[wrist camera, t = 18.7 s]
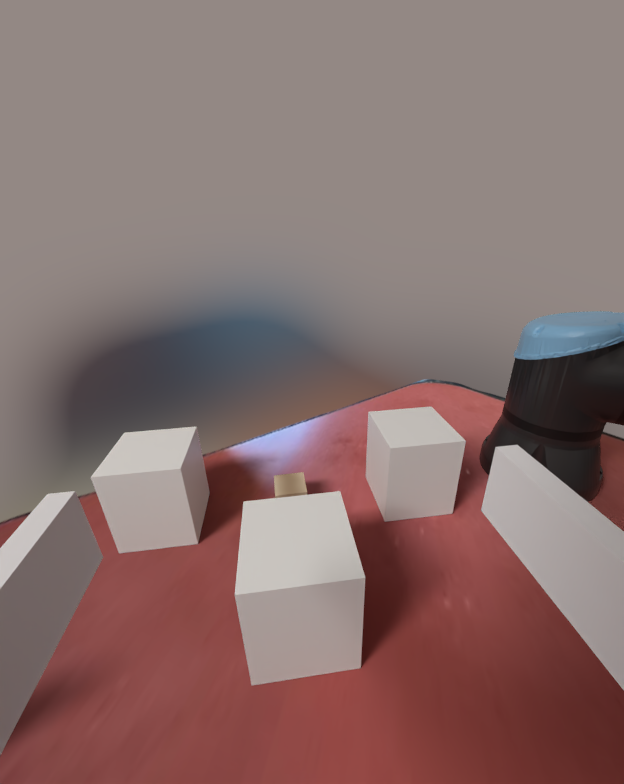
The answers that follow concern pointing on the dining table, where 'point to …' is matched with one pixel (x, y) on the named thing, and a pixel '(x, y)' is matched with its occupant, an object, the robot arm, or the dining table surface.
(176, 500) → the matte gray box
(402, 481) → the matte white cube
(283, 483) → the letter cube
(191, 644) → the dining table surface
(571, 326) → the robot arm
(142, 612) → the dining table surface
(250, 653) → the tall off-white cuboid
